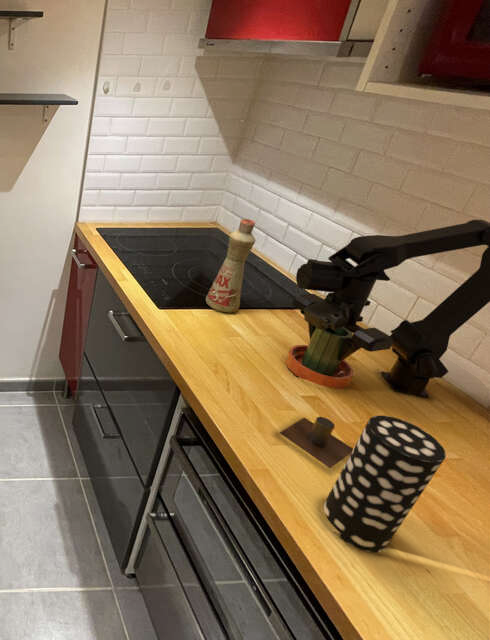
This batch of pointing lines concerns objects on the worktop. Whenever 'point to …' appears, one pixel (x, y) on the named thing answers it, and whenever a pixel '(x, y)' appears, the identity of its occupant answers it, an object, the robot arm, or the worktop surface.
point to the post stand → (318, 440)
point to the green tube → (325, 350)
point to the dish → (336, 381)
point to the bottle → (232, 270)
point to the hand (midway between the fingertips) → (325, 350)
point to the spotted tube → (382, 481)
